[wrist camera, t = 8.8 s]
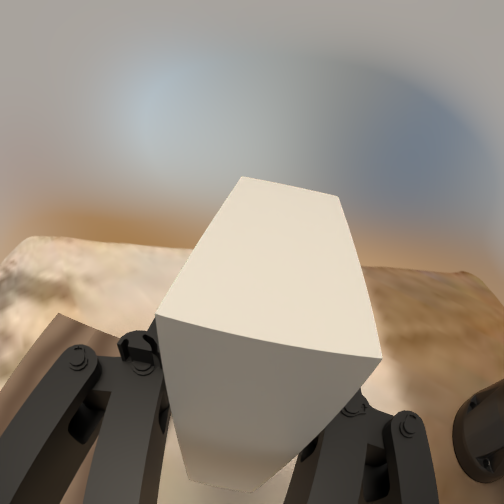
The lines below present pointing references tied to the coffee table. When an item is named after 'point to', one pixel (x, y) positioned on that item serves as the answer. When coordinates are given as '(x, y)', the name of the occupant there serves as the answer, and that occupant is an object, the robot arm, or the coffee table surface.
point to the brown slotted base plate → (37, 365)
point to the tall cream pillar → (264, 333)
